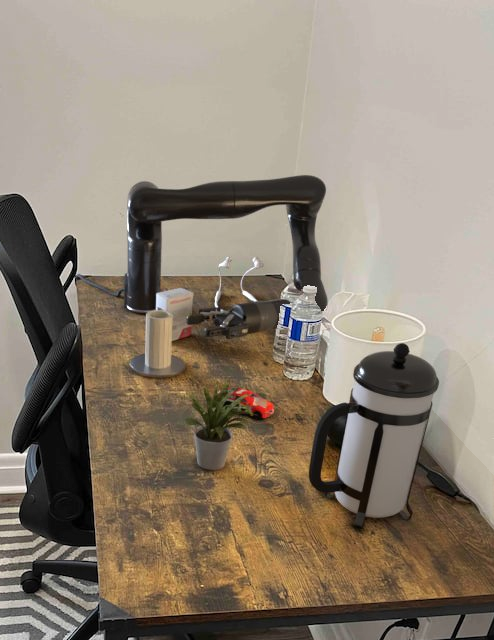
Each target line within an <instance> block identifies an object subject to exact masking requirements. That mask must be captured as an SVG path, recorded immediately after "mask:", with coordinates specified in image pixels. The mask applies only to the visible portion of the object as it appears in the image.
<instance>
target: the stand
mask: <svg viewBox="0 0 494 640" xmlns="http://www.w3.org/2000/svg"><path fill="white" fill-rule="evenodd" d="M129 369H130V370H131V371H132V372H133V373H135V375H139V376H140V377H141V376H142V377H145V378H151V379H167V378H172V377H176V376H179V375H181V374H182V373H183V372H184V371H185V370H186V363H185V362H184V360H183V359H182V358H180V356H179V357H178V356H176V355H175V354H171V365H170V366H169V367H167V368H163V369H155V368H150V367H148V366H147V365H146V364H145V353H142V354H138V355H135V356H134V357H133V358H131V360H130V361H129Z"/></svg>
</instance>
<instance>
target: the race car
mask: <svg viewBox="0 0 494 640" xmlns="http://www.w3.org/2000/svg"><path fill="white" fill-rule="evenodd" d="M236 388H237V389H236ZM221 389H222V388H220V389H219V390H217V396H218V395H219V393H220V391H221ZM234 389H236V390H235V391H234V392H233V393H232V394H231V395H230V396H229V397H228V399H227V400H226V402H225V403H224V404H223V407H224V406H227V405H230V404H232V403H233V402H234V401H235V400H237V399H238V398H239V397H241V396H243V395H247V394H251V395H249V396H247V397H245V398H243V399H242V400H241V401H240V402H239V403H238V404H237V405H236V406H234V407H239V406H240V407H246V408H249V409H244V408H235V409H237V410H240V411H247V412H250V413H253V414H256V415H253V414H248V413H243V414H244V415H248V416H251V417H254V419H255V420H261V419H266V418H270V417H272V416H273V415H274V414H275V406H274V404H273V403H272V402H271V401H269V400H267V399H264V398H263V397H260V396H259V394H258V393H257V394H256V393H255V392H253V391H251V390H249V389H246V388H240V387H235V386H233V387H228V394H229V393H230V392H231V391H233V390H234ZM227 407H228V406H227ZM227 407H226V408H225V410H226V409H227ZM235 409H231V410H230V411H232V410H235Z"/></svg>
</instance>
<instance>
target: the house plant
mask: <svg viewBox="0 0 494 640" xmlns="http://www.w3.org/2000/svg"><path fill="white" fill-rule="evenodd" d="M230 384H231V378H230V379H228V380H227V381H225V382H224V384H223V386H221V388H220V389H221V391H220V393H219V395H218V396H217V392H218V385H219V380H217V381H216V382H215V385H214V388H213V394H212V396H211V394H210V392H209V390H208V388H207V387H206V386H205V384H203V383H201V387H202V389H203V393H202V392H200V390H197V389H192V390H193V391H195V392H198V393H199V394H201V395H202V397H203V399H204V401H205V404H206V410H207V411H206V410H205V409H204V407H203V405H202V403H201V401H200V400H199V398H198V397H196V396H195V394H194V393H193V392H190V391H188V392H189V393H187V392H185V395H187V396H188V397H189V398H190V399H189V398H186V397H182V396H181V397H179V396H177V397H176V399H185V400H188V401H190V402H191V406H192V408H194V409H195V410H196V411H197V412H198V413H199V415H200V416H201V418H202V420H203V423H204V425H203V424H201V423H200V422H199V421H198V420H197V419H195V418H193V417H187V418H185V420H184V422H183V425H184V427H186V426H187V427H188V426H196V425H197V426H198V427H197V428H195V430H194V432H193V436H194V443H195V452H196V460H197V465H198V466H199V467H200V468H202V469H204V470H209V471H216V470H220V469H222V468H224V467H225V466H226V462H227V458H228V455H229V451H230V447H231V444H232V440H233V436H234V433H233V431H231V428H235V429H242V430H245V431H247V429H246V427H245V425H249V426H250V427H251V424H250V422H249V420H247V418H243V417H234V416H236V415H241V414H244V413H248V414H253V413H250V412H247V411H240V410H237V409H235V408H244V409H249V408H246V407H240V406H239V407H234V406H236V405H237V404H238V403H239V402H240V401H241V400H242V399H243V398H245V397H247V396H249V395H251V394H247V395H243V396H241V397H239V398H238V399H237V400H235V401H234V402H233V403H232V404H230V405H227V406H228V407H227V406H224V407H223V404H224V403H225V402H226V400H227V399H228V397H229V396H230V395H231V394H232V393H233V392H234V391H235V390H236V389H237V388H238V387H235V388H236V389H234V390H233V391H231V392H230V393H229V394H228V388H229V386H230ZM226 407H227V409H226V410H225V408H226ZM231 409H235V410H231ZM254 415H256V414H253V416H254ZM199 425H200V426H199ZM184 427H183V428H184Z"/></svg>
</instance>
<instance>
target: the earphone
mask: <svg viewBox="0 0 494 640" xmlns="http://www.w3.org/2000/svg"><path fill="white" fill-rule="evenodd" d="M232 261H233V259H232V257H231V256H227V257H225V260H224V261H223V262H221V263H219V264H218V273H219V279H220V281H219V288H218V290H217V291H216V294H215V297H214V301H215V302H214V308H215V307H219V305H218V303H219V301H220V298H221V296H222V291H221V290H222V289H221V288H222V274H221V270H220V268H225V269H228V270H229V269H230V268H231V263H232ZM252 263H254V267H251V268H250V269H248V270H247V271H246V272H245V273H244V274H243V276H242V277H241V280H240V289H241V292H242V295H243V296H244V297H246V298H247V299H248V300H250V302H255V301H258V299H256V298H255V296H254V295H253V294H251V293H250V292H248V291H247V290H244V289H243V280H244V278H245V276H246V275H247V274H248V273H249V272H250V271H252V270H254V269H256V270H258V269H260V268H262V267H264V266H265V264H264V263H263V262H262V261H261V259H259V257H258V256H254V257H253V258H252ZM222 311H225V310H224V309H222V308H221V312H222Z"/></svg>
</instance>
